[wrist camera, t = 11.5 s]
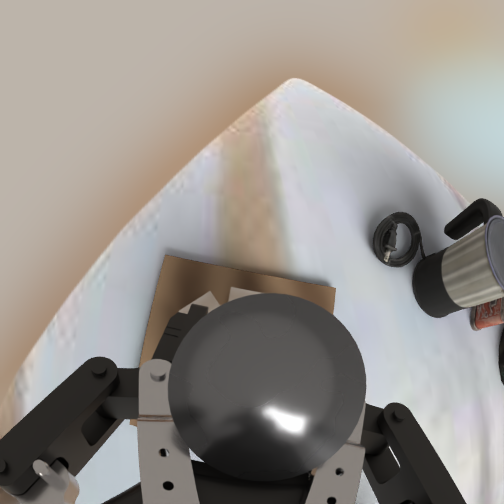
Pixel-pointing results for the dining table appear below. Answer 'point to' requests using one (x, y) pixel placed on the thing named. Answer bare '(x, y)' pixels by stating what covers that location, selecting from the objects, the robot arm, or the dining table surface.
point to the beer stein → (501, 357)
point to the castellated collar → (214, 293)
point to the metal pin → (267, 387)
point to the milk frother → (452, 259)
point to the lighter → (487, 314)
